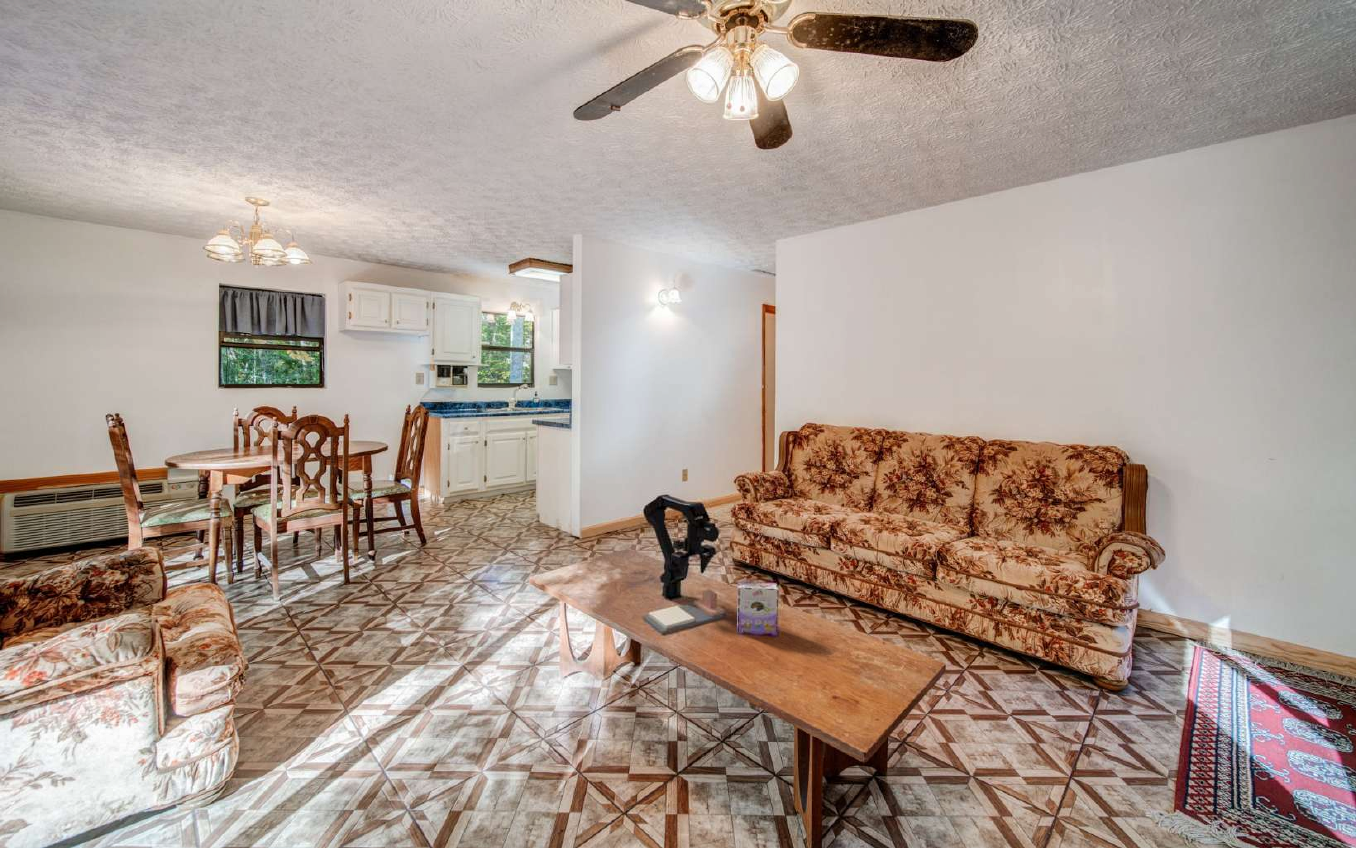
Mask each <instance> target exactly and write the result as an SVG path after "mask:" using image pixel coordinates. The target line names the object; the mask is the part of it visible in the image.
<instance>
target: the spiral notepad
mask: <svg viewBox="0 0 1356 848" xmlns="http://www.w3.org/2000/svg"><path fill="white" fill-rule="evenodd" d="M679 607H680V606H677V605H674V606H671V607H666V608H662V609H659V610H654V611H650V612H648V615H649V617H651V618H652V619H653V620H655V621H656V622H657V623H658V624H660V625H661V626H662V627H663V628H665V629H668V628H672V627H676V626H679V625H683V624H687V623H690V622H694V621H695V618H694V617H692V616H691V615H689V614H688V613H686V612H685V611H684V610H682V609H681V608H679Z"/></svg>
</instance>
